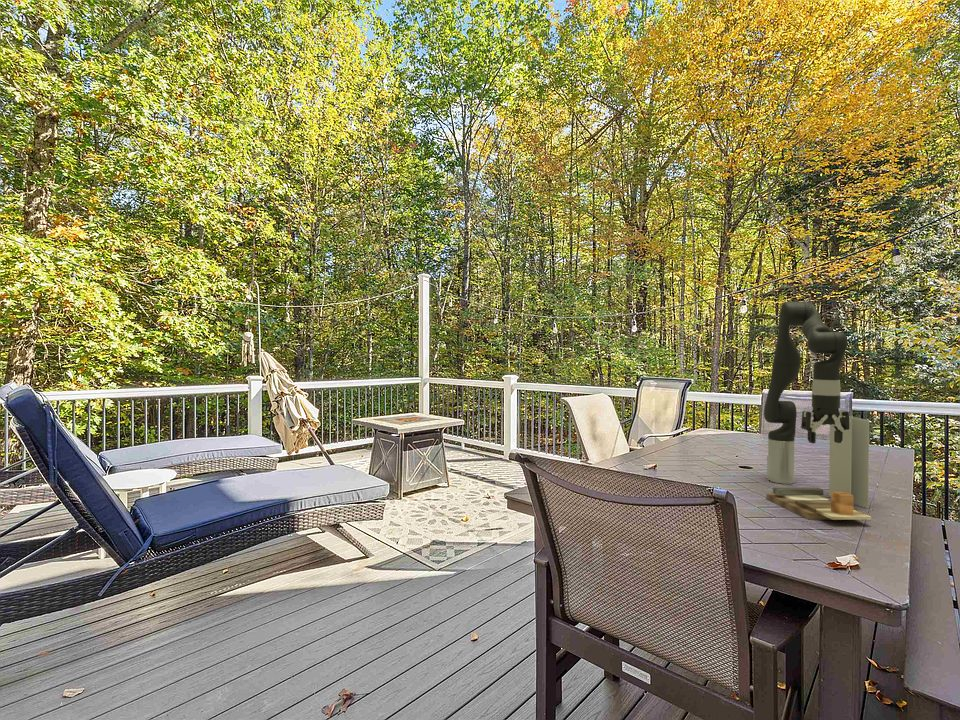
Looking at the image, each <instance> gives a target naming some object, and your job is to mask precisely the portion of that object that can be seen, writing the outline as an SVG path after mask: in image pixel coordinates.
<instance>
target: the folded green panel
mask: <svg viewBox="0 0 960 720" xmlns="http://www.w3.org/2000/svg"><path fill="white" fill-rule="evenodd" d="M837 419H838V420H839V422H840V417H838V418H837ZM834 431H836V430H835V429H834V428H833V426H832V425H829V458H828V459H829V464H828V465H829V468H828V471H829V472H828V473H829V475H828V476H829V477H828V482H829V483H828V496H829V497H831V492H846V493H848V494H851V495H854V499H853V505H856V506H858V505H859V507H861V506H862V507H861V508H864V507H865V508H864V509H867V508H868V509H869V501H870V500H869V494H870V493H869V492H870V491H869V489H870V487H869V485H870V484H869V483H870V477H869V474H870V473H869V472H870V420H868V419H864V418H859V417H856V416H850V415H849V430H844V431H843V440H842V441H841V443H836V442H834Z"/></svg>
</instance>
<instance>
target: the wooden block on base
mask: <svg viewBox="0 0 960 720" xmlns="http://www.w3.org/2000/svg"><path fill="white" fill-rule="evenodd" d="M830 499H831V509H816V512H817V513H819V514H821V515H824V516H826V517H828V518H830V519H829V520H832V521H833V520H834V521H838V520H840V521H841V520H844V521H845V520H855V521H857V520H858V521H859V520H860V521H861V520H872V516H870V515H868V514H866V513H864V512H863V513H864V514H863V513H861V512H862V511H861V512H858V511H859V510H858V511H856V510H853V507H854V504H853V499H854V495H851V494H848V493H846V492H831V496H830Z"/></svg>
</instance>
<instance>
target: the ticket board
mask: <svg viewBox="0 0 960 720" xmlns="http://www.w3.org/2000/svg"><path fill="white" fill-rule="evenodd" d="M772 491H773V492H772V493H770V492H766V494H765V499H766V500H768V501H769V502H772V503H774V504H776V505H778V506H780V507H782V508H784V509H786V510H788V511H790V512H792V513H794V514H797V515H798V516H800V517H802V518H804V519H806V520H831V519H830V518H828V517H826V516H824V515H821V514H819V513H817V512H816V509H831V498H829V497H825V496H824V489H822V488H820V487H818V486H814V487H810V486H809V487H807V486H805V487H800V486H799V487H796V486H795V487H791V486H790V487H782V486H781V487H773V489H772ZM853 510H856V511H858V512H861V513H863V514H865V512H863V511H860V510H858V509H857V508H855V507H854V506H853Z"/></svg>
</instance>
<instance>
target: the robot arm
mask: <svg viewBox="0 0 960 720" xmlns="http://www.w3.org/2000/svg"><path fill="white" fill-rule="evenodd" d="M778 315H779V317H778V328H777V329H778V330H777V338H776V339H777V340H776V346H775V351H774V355H773V359H772V360H773V361H772V368H771V376H770V381H769V388H768V392H767V395H766V399H765V402H764V403H765V404H764V407H763V416H764V420H765V421H766V423H769V424H782V425H781V426H780V427H779V428H776V429H773V430H771V431H769V432H768V435H767V440H768V443H767V448H768V449H767V454H768V455H767V457H766V479H767V480H768V481H769V480H770V481H769V482H773V483H776V484H785V485H787V484H788V485H789V484H794V483H795V440H796V439H795V437H796V428H797V427H796V425H797V406H796V403H794V401H791V400H780V399H781V396H782V394H783V392H784V391H785V390H786V389H787V388H788V387H789V386H790V385H791V384H792V383H793V382H794V381H795V380H796V379H797V377H798V376H799V374H800V369H801V363H802V356H801V354H800V352H799V350H798V348H797V347H796V345H795V344H794V342H793V340H792V337H791V334H790V328H791V326H793V327H801V331H802V334H803V336H804V337H805V338H806V339H807V348H808V350H809V352H811V353H813V354H818V355H819V354H821V355H823V354H824V355H827V354H828V355H829V354H830V357H828V359H824V360H820V361H816V362H814V364H813V371H812V372H813V375H812V376H813V377H812V379H813V380H812V384H811V385H812V388H811V407H812V410H811V411H806V410H803V411H802V415H801V423H800V425H801V426H800V428H801V429H802V430H805V431H807V441H808V443H810V444H816V441H817V440H816V439H817V438H816V436H817V435H816V434H817V433H816V431H817V430H818V428H819V427H821V426H824V425H825V426H826V425H829V426H830V425H832V426H833V428H834V429H835V430H836V431H834V442H836V443H841V441H842V440H843V431H844V430H849V416H850V412H849V411H846V410H843V409H842V410H841V409H840V408H841V388H842V387H841V378H840V377H841V366H842V361H843V358H844V356H845V353H846V351H847V348H848V344H849V341H848V340H849V339H848V337H847V335H846V334H845V333H844V332H841V331H832V330H831V328H830V327H829V326H828V325H826V324H825V323H824V321H823V319H822V318H821V316H820V314H819V311H818V309H817V308H816V305H815V304H814V303H812V302H809V301H785V302H783V303H782V304H781V307H780V310H779V314H778ZM839 409H840V411H839ZM838 417H840V422H839V420H838V419H837V418H838Z"/></svg>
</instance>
